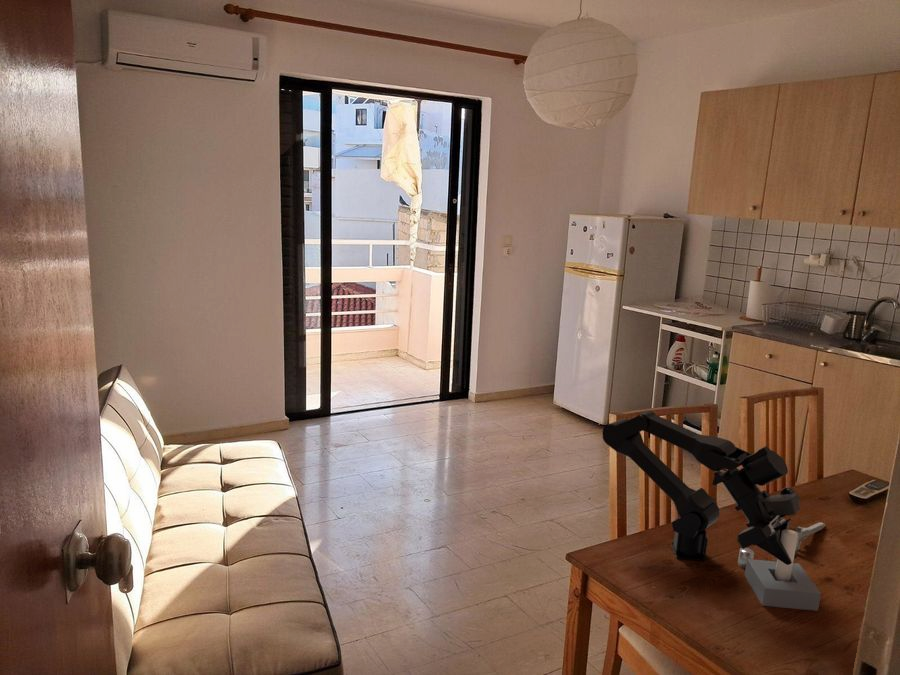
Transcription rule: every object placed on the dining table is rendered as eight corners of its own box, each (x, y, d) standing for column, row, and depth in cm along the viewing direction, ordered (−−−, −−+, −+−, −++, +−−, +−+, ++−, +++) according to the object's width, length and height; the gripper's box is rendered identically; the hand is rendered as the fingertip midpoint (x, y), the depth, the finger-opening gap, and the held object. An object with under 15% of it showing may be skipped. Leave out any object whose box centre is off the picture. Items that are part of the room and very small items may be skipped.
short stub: (740, 567, 151) (742, 553, 150) (736, 560, 153) (738, 546, 153) (753, 569, 150) (756, 555, 150) (749, 561, 153) (751, 548, 152)
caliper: (795, 554, 158) (799, 530, 156) (790, 552, 158) (794, 528, 157) (825, 526, 171) (829, 504, 170) (820, 525, 172) (824, 503, 171)
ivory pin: (771, 586, 141) (780, 533, 138) (774, 580, 144) (783, 527, 141) (787, 592, 139) (796, 538, 137) (789, 585, 142) (799, 532, 139)
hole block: (762, 605, 137) (765, 588, 136) (744, 575, 148) (747, 559, 147) (817, 610, 136) (821, 593, 135) (796, 579, 147) (799, 563, 146)
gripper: (761, 491, 132) (811, 565, 127) (793, 466, 145) (840, 532, 140) (717, 513, 140) (763, 583, 135) (751, 487, 153) (794, 550, 148)
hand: (792, 561), depth 139 cm, fingers closed on ivory pin, 3 cm apart
